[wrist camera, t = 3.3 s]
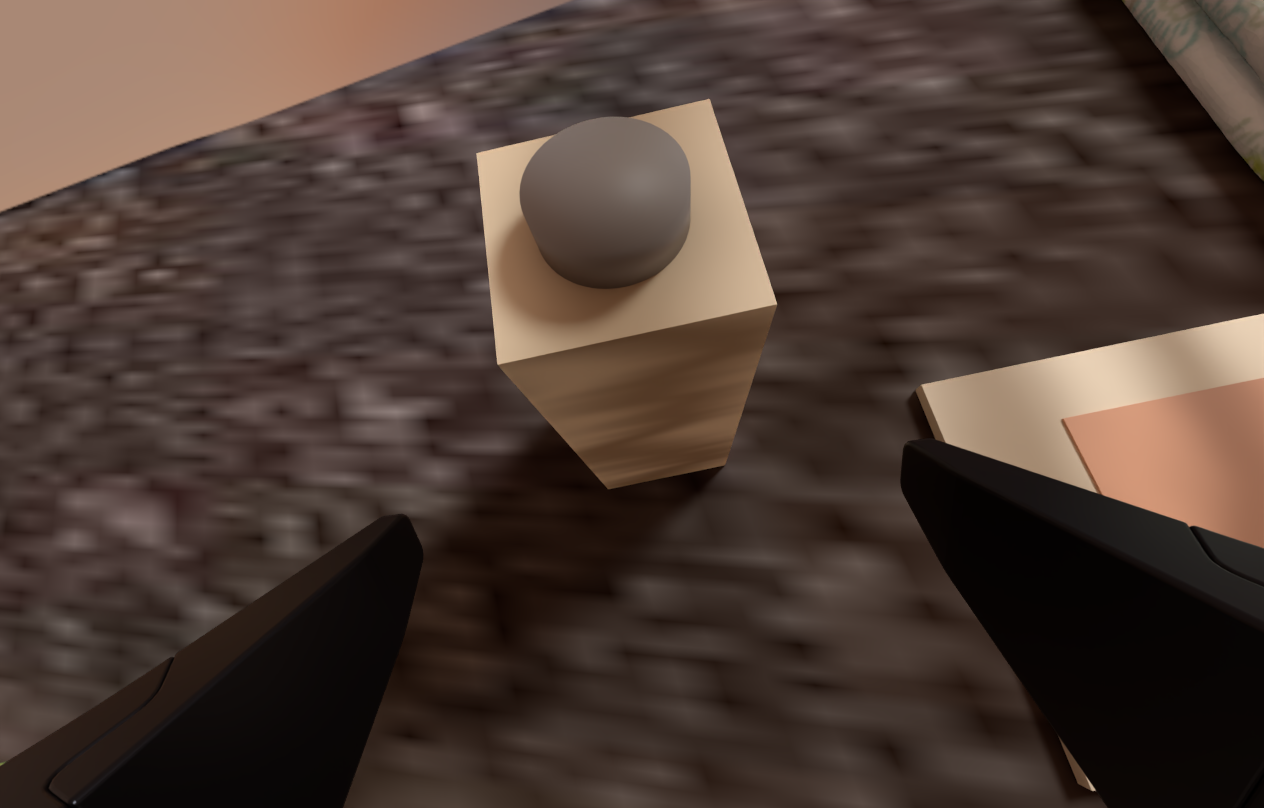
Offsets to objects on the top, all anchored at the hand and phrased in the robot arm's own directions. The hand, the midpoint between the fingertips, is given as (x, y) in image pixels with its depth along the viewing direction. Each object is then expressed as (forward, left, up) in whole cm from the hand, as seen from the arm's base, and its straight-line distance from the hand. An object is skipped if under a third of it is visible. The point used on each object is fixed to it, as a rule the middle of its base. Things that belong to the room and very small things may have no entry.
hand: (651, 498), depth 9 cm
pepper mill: (0, +5, -12) cm, 13 cm away
